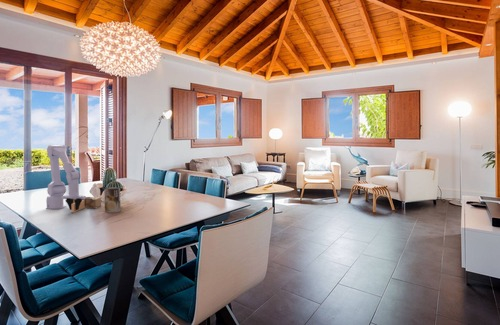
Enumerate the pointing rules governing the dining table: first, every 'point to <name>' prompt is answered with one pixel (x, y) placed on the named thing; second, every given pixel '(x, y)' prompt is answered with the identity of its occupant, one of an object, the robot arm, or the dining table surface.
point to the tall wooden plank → (82, 205)
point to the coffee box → (112, 200)
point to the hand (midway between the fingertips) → (74, 209)
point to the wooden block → (91, 202)
